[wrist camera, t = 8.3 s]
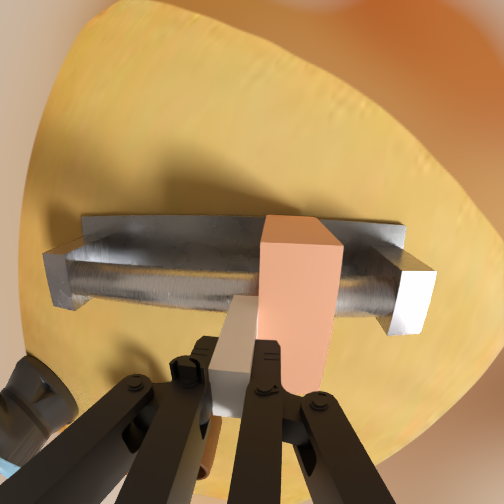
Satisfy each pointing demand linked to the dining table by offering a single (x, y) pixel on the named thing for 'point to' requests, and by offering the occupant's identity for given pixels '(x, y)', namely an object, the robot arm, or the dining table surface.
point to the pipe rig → (230, 266)
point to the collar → (298, 296)
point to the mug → (210, 447)
